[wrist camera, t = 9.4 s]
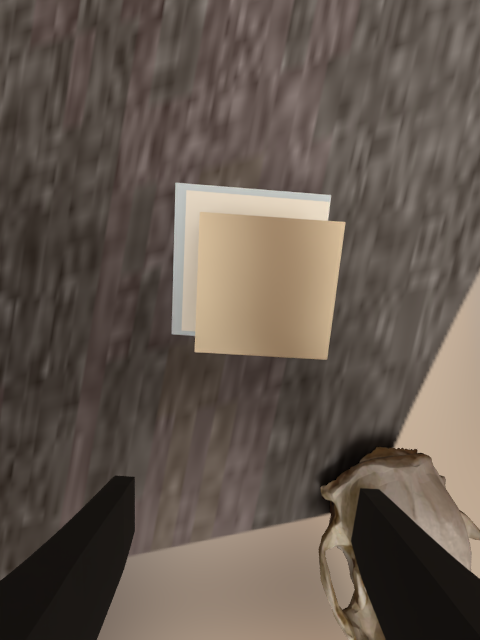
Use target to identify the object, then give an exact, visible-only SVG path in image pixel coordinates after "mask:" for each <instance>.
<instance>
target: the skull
mask: <svg viewBox="0 0 480 640" xmlns="http://www.w3.org/2000/svg"><path fill="white" fill-rule="evenodd" d="M445 481H446V479H445V477H444V476H440V475H439V474H438V472H437V470H436V469H435V468H434V466H433V463H432V459H431V457H429V456H428V455H425V454H423V453H417V449H414V450H412V449H411V450H408V449H405V450H404V449H403V448H401V449H400V448H398V449H395V448H392V447H391V448H389V449H388V448H386V447H383V448H382V447H376V449H375V450H373V452H372V453H370V454H367V455H366V456H365V457H363V458H362V459H361V460H360V463H358V464H357V465H355V466H353V467H351V468H350V469H349V470H347V471H345V472H343V473H342V474H341V475H340V476H339V477H337V480H335V481H333V482H332V481H331V483H329V484H328V485H327V486H325V485H324V486H322V487H320V488H321V493H322V496H323V497H322V498H323V499H324V498H325V499H326V500H330V513H331V518H330V523H329V526H328V528H327V530H326V531H325V533H324V534H323V536H322V539H321V543H320V546H319V562H320V575H321V582H322V585H323V588H324V591H325V593H326V596H327V599H328V601H329V604H330V606H331V608H332V611H333V614H334V617H335V619H336V620H337V622H338V624H339V625H340V627H341V629H342V630H343V632H344V633H345V635H346V636H347V638H348V639H349V640H386V639H385V637H384V634H383V632H382V629H381V627H380V624H379V622H378V619H377V617H376V614H375V612H374V609H373V607H372V604H371V602H370V599H369V596H368V594H367V591H366V589H365V586H364V584H363V581H362V578H361V575H360V572H359V568H358V565H357V562H356V558H355V554H354V550H353V547H352V543H351V537H352V532H353V526H354V520H355V515H356V509H357V504H358V498H359V492H360V488H368V489H379V490H381V491H382V492H383V493H384V494H385V495H386V496H387V497H389V498H390V499H391V500H392V501H393V502H394V503H395V504H396V505H397V506H398V507H399V508H400V509H401V510H402V511H404V512H405V513H406V514H407V515H408V516H409V517H410V518H411V519H412V520H413V521H414V522H415V523H416V524H417V525H419V526H420V527H421V528H422V529H423V530H424V531H425V532H426V533H427V534H428V535H429V536H431V537H432V538H433V539H434V540H435V541H436V542H437V543H438V544H439V545H441V546H442V547H443V548H444V549H445V550H446V551H447V552H448V553H450V554H451V555H452V556H453V557H454V558H455V559H456V560H458V561H459V562H460V563H461V564H462V565H464V566H465V567H466V568H467V569H468V570H469V571H471V547H470V542H469V538H472V539H475V540H480V530H479V529H478V528H477V526H476V525H475V524H474V523H473V522H472V521H471V520H470V518H469V517H468V516H467V515H466V514H464V513H463V512H462V511H460V510H459V509H458V507H457V505H456V504H455V502H454V501H453V499H452V498H451V496H450V495H449V493H448V492H447V490H446V488H445ZM335 546H337V547H338V548H339V549H340V550H342V551H343V553H344V555H345V556H346V559H347V561H348V565H349V570H350V577H351V579H352V582H353V584H354V588H355V591H354V594H353V596H352V599H351V602H350V604H349V606H348V607H347V608H345V609H343V610H342V609H341V608H340V607H339V606H338V602H337V599H336V595H335V592H334V589H333V585H332V582H331V578H330V572H329V569H328V565H327V562H326V558H325V550H327V549H332V548H334V547H335Z"/></svg>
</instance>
